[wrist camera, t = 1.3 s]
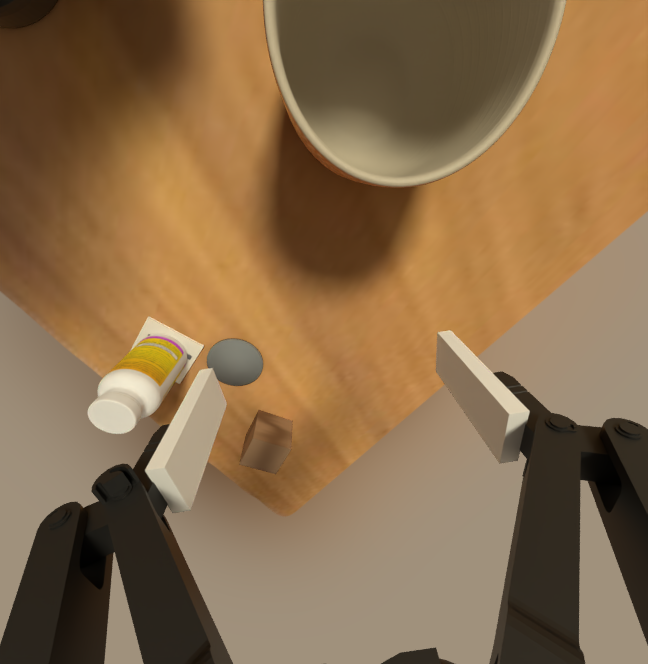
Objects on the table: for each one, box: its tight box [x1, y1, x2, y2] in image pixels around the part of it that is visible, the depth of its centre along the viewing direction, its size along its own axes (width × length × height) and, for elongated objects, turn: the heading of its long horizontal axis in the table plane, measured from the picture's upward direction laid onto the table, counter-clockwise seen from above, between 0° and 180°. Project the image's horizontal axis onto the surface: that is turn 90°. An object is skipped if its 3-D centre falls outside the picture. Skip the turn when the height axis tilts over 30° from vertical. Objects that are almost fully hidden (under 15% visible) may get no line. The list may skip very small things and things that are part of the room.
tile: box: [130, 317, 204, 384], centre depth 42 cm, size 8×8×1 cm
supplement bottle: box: [88, 334, 187, 434], centre depth 36 cm, size 7×7×13 cm
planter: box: [263, 0, 566, 188], centre depth 23 cm, size 17×17×15 cm
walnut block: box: [240, 410, 293, 474], centre depth 47 cm, size 6×6×6 cm
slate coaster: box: [207, 339, 263, 386], centre depth 43 cm, size 8×8×1 cm
